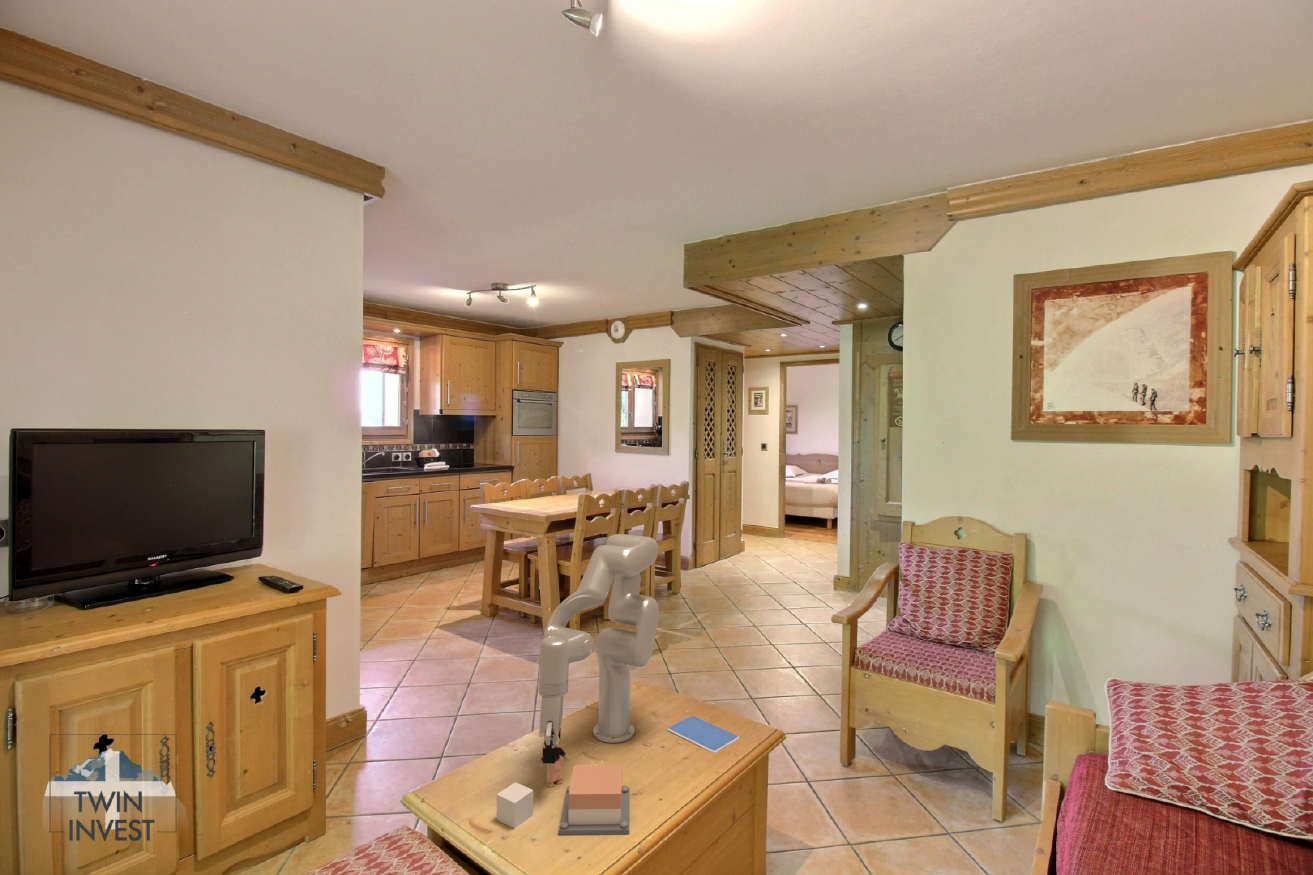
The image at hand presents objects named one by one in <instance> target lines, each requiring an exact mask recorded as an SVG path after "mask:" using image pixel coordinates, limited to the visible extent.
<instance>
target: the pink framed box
mask: <svg viewBox="0 0 1313 875" xmlns="http://www.w3.org/2000/svg"><path fill="white" fill-rule="evenodd" d="M622 780H623V764H578V765H577V764H575V765H573V770H572V774H571V780H570V785H569V786H568V787H567V788H566V789H565V793H564V800H563V805H562V810H561V814H560V819H559V825H558V830H557V831H558V832H557V834H558V836H580V835H581V836H583V835H585V836H586V835H589V836H591V835H593V836H594V835H630V809H631V808H630V805H631V804H630V802H631V801H630V799H631V798H630V797H631V794H630V791H631V787H629V786H628V785H623V781H622Z"/></svg>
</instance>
